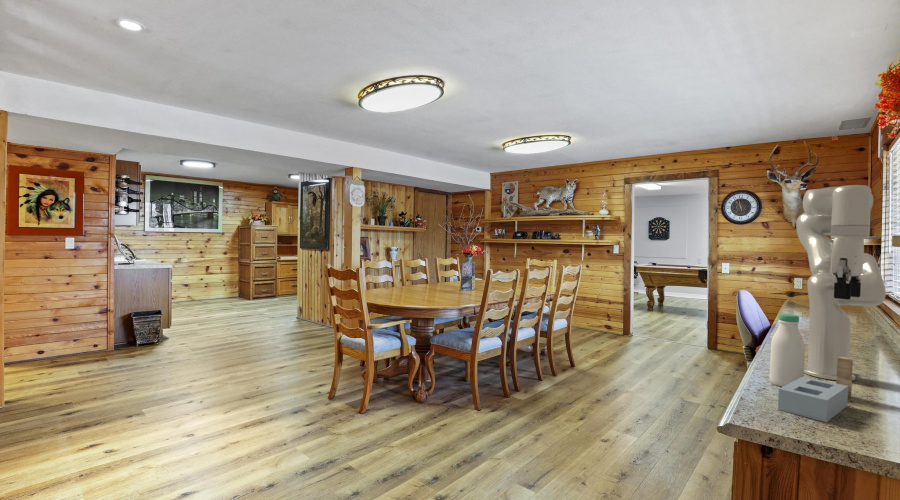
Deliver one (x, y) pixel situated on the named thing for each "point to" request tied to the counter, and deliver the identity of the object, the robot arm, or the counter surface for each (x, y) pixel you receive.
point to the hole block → (813, 398)
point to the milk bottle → (787, 352)
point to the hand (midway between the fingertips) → (847, 297)
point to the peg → (845, 373)
